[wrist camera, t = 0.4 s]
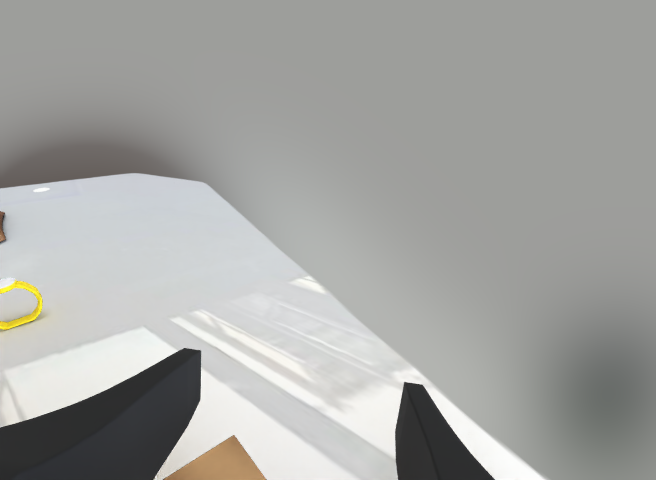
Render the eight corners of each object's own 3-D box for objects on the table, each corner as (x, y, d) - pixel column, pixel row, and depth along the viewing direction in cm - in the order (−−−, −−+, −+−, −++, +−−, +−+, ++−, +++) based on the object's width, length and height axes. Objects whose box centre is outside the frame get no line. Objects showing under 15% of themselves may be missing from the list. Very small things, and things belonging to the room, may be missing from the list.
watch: (47, 310, 51) (32, 270, 49) (48, 320, 49) (34, 279, 47) (-11, 327, 48) (-30, 285, 45) (-12, 338, 46) (-31, 296, 43)
